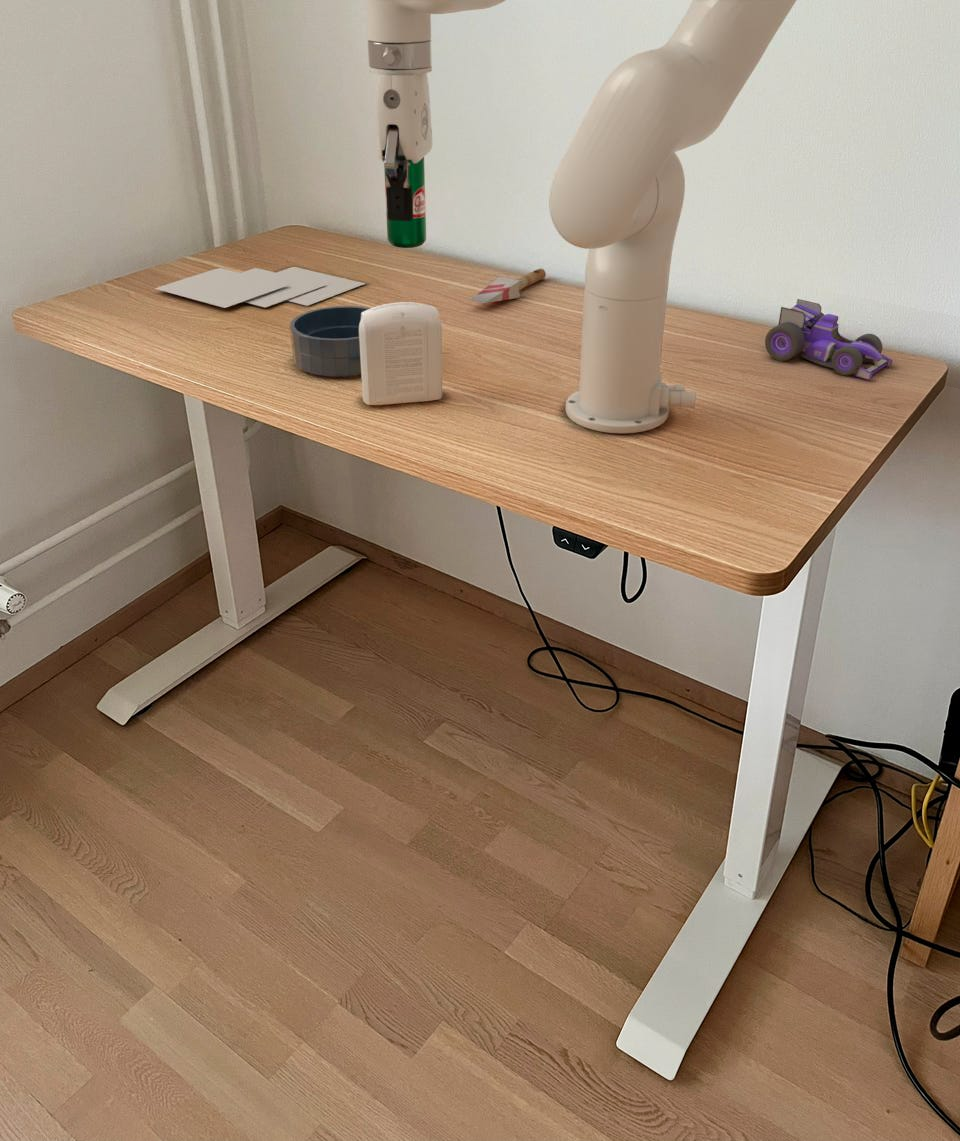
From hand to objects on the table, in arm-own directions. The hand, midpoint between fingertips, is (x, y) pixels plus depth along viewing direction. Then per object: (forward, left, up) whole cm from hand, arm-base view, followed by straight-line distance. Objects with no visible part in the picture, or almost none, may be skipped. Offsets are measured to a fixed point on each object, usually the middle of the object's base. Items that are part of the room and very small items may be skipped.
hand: (405, 212), depth 131 cm
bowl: (+9, +3, -20) cm, 22 cm away
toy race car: (-57, -7, -20) cm, 61 cm away
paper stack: (+31, -26, -20) cm, 45 cm away
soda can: (0, 0, -4) cm, 4 cm away
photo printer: (-2, +14, -20) cm, 24 cm away
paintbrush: (-10, -29, -20) cm, 37 cm away
